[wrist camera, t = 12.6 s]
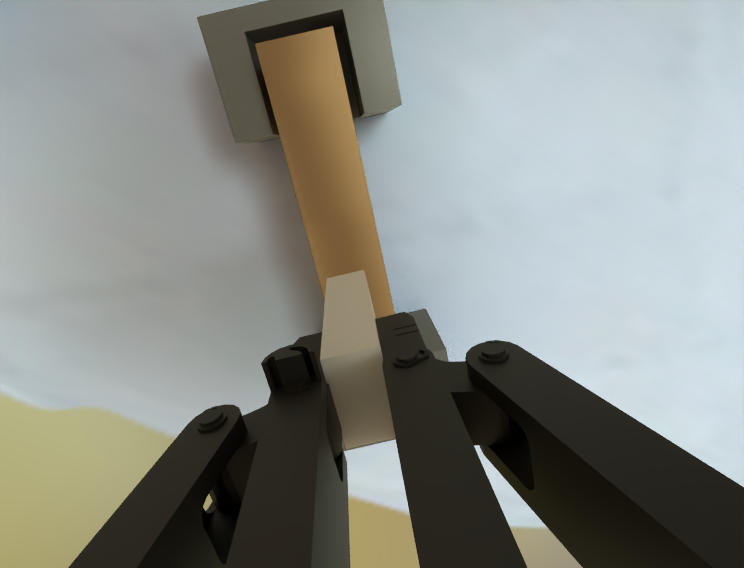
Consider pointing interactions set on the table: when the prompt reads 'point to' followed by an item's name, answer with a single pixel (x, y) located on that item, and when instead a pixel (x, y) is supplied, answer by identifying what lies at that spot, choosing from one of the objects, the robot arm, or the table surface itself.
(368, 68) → the end caps
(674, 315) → the table surface
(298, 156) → the slat
